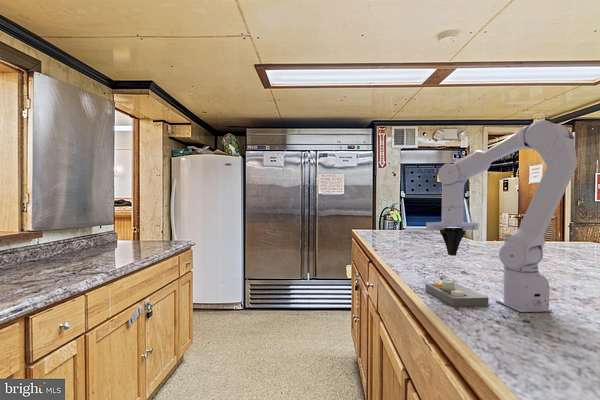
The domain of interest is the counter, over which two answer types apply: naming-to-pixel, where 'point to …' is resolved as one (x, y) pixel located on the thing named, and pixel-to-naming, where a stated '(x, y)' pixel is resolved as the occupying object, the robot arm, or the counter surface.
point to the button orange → (438, 284)
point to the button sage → (448, 286)
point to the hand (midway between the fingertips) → (452, 255)
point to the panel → (457, 301)
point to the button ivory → (457, 293)
